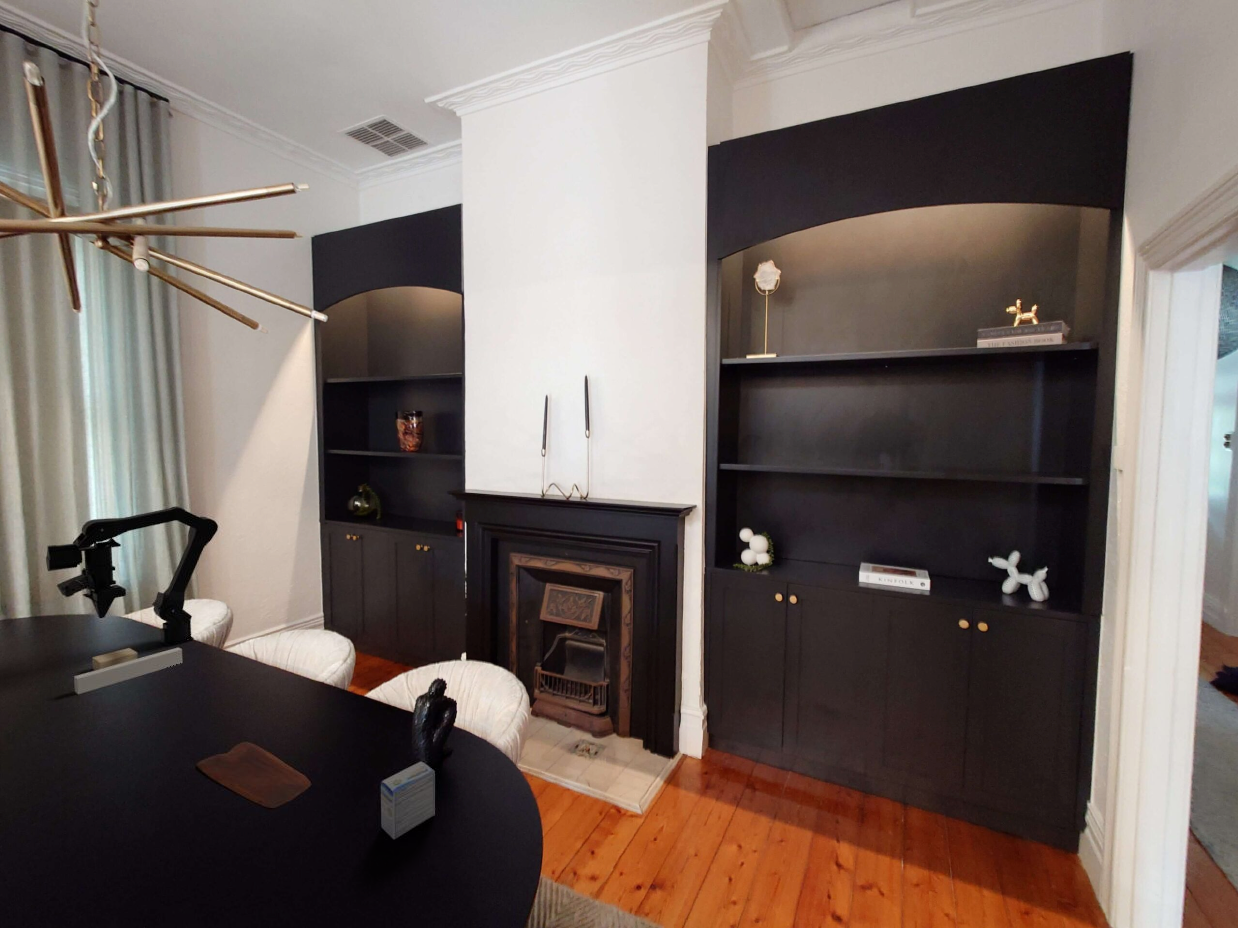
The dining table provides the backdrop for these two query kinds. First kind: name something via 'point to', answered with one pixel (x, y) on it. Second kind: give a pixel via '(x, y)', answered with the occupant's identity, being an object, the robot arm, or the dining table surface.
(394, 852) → the dining table surface
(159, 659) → the fence bar
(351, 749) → the dining table surface
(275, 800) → the wooden tablet
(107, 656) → the maple block
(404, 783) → the medicine box
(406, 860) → the dining table surface
